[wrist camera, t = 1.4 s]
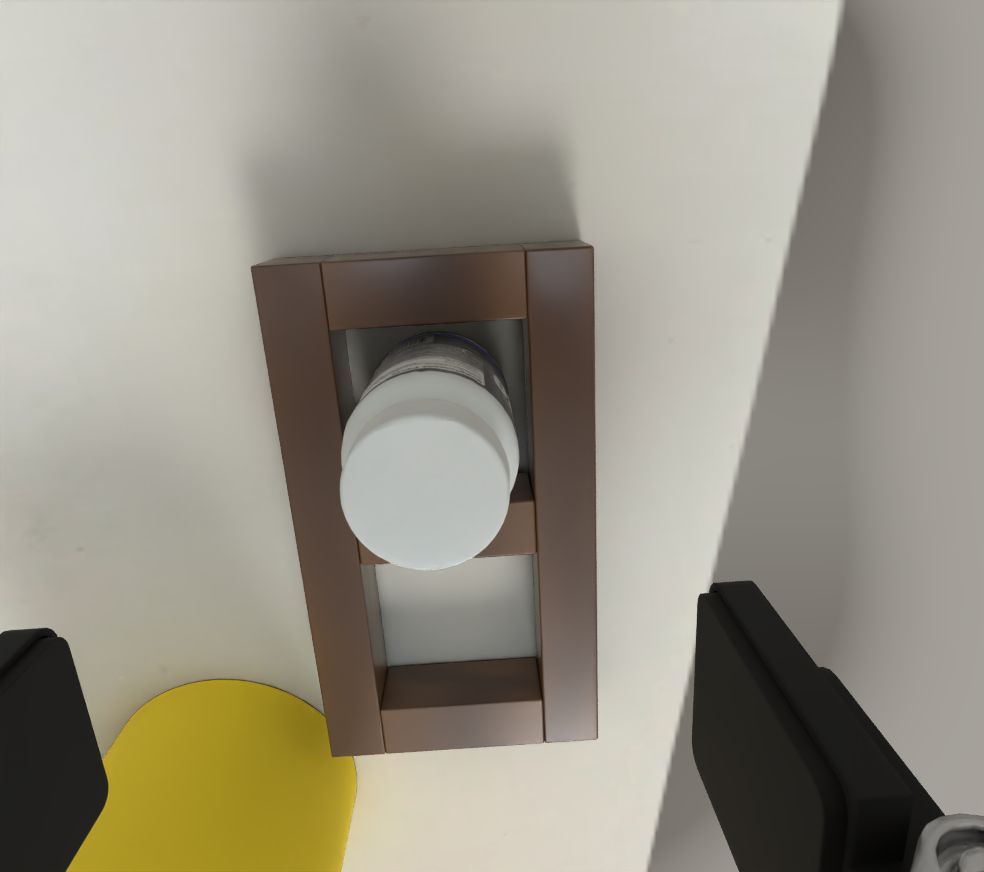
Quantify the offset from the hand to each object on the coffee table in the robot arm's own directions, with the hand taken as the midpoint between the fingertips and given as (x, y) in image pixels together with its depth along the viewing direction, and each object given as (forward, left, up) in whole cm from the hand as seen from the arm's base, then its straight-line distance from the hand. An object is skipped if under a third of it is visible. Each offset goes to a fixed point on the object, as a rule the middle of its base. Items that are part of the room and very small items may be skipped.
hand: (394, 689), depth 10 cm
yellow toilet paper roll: (+16, -10, -15) cm, 24 cm away
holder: (+4, 0, -15) cm, 15 cm away
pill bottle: (0, 0, -15) cm, 15 cm away
